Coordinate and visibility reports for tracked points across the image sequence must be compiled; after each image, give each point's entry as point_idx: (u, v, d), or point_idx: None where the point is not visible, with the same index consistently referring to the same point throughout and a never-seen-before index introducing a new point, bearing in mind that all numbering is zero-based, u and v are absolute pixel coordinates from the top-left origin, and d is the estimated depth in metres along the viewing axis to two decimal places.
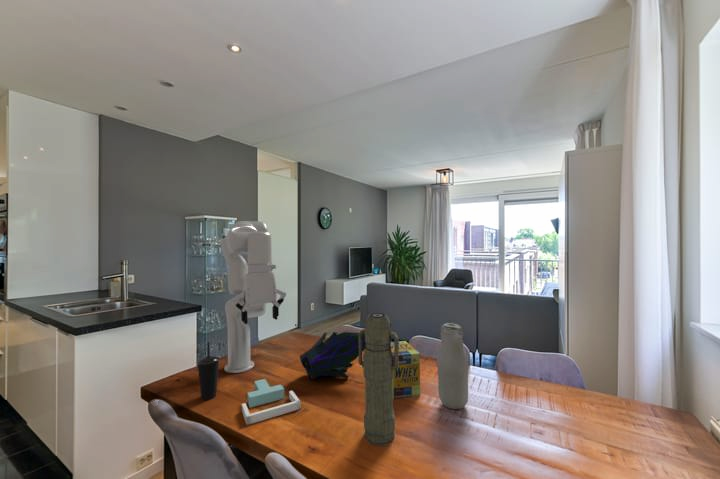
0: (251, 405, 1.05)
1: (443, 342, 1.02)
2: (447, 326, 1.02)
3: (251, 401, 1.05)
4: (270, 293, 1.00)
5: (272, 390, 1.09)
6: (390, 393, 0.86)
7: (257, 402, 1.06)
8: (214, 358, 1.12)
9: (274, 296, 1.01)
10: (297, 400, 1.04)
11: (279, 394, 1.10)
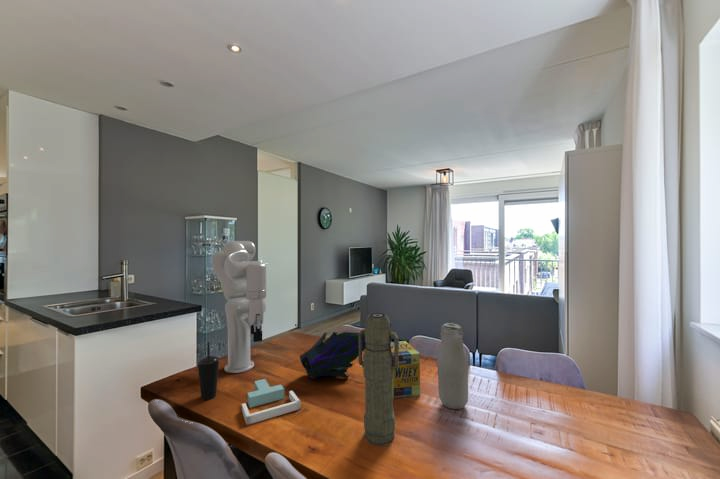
0: (251, 405, 1.05)
1: (443, 342, 1.02)
2: (447, 326, 1.02)
3: (251, 401, 1.05)
4: None
5: (272, 390, 1.09)
6: (390, 393, 0.86)
7: (257, 402, 1.06)
8: (214, 358, 1.12)
9: None
10: (297, 400, 1.04)
11: (279, 394, 1.10)
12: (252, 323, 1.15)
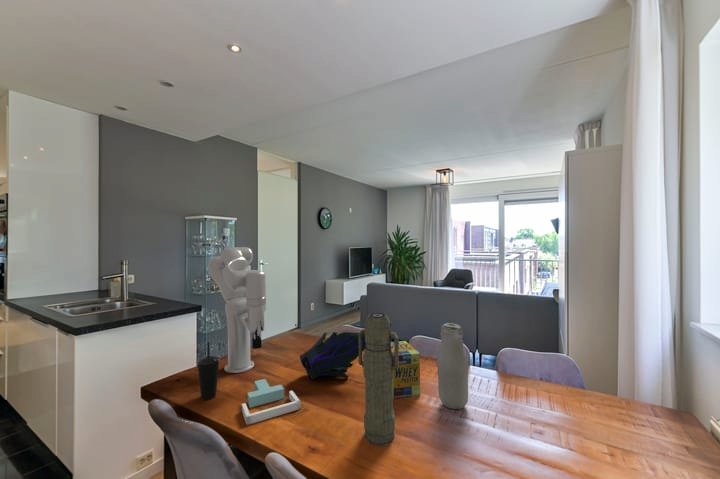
0: (251, 405, 1.05)
1: (443, 342, 1.02)
2: (447, 326, 1.02)
3: (251, 401, 1.05)
4: None
5: (272, 390, 1.09)
6: (390, 393, 0.86)
7: (257, 402, 1.06)
8: (214, 358, 1.12)
9: None
10: (297, 400, 1.04)
11: (279, 394, 1.10)
12: (254, 330, 1.17)
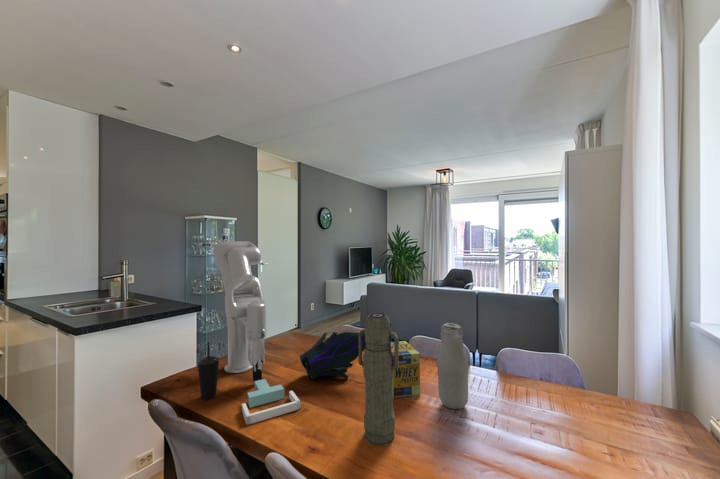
0: (251, 405, 1.05)
1: (443, 342, 1.02)
2: (447, 326, 1.02)
3: (251, 401, 1.05)
4: None
5: (272, 390, 1.09)
6: (390, 393, 0.86)
7: (257, 402, 1.06)
8: (214, 358, 1.12)
9: None
10: (297, 400, 1.04)
11: (279, 394, 1.10)
12: (254, 364, 1.17)
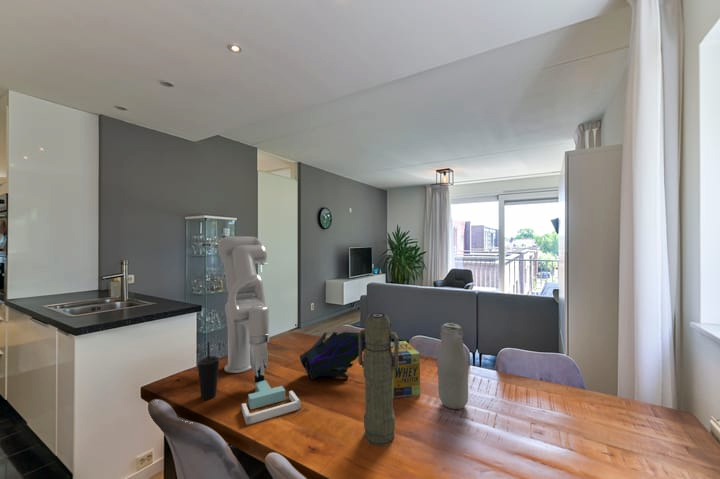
0: (252, 407, 1.03)
1: (443, 342, 1.02)
2: (447, 326, 1.02)
3: (252, 403, 1.03)
4: None
5: (273, 391, 1.08)
6: (390, 393, 0.86)
7: (258, 404, 1.04)
8: (214, 358, 1.12)
9: None
10: (297, 400, 1.04)
11: (280, 395, 1.08)
12: (256, 369, 1.13)
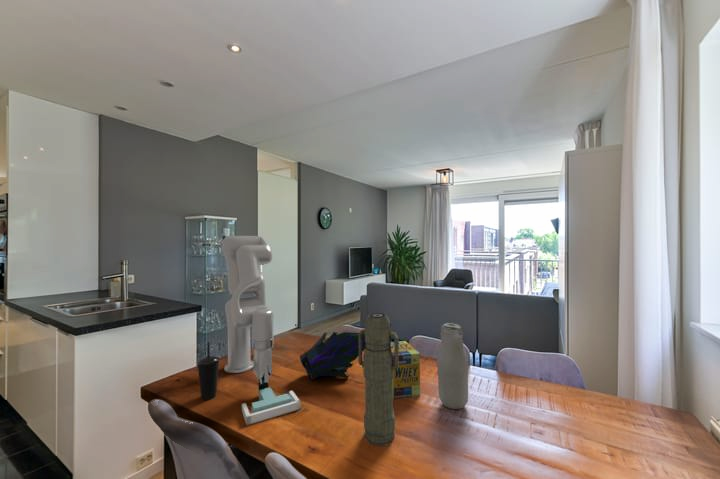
0: None
1: (443, 342, 1.02)
2: (447, 326, 1.02)
3: None
4: None
5: (278, 400, 1.02)
6: (390, 393, 0.86)
7: None
8: (214, 358, 1.12)
9: None
10: (297, 400, 1.04)
11: None
12: (260, 376, 1.07)
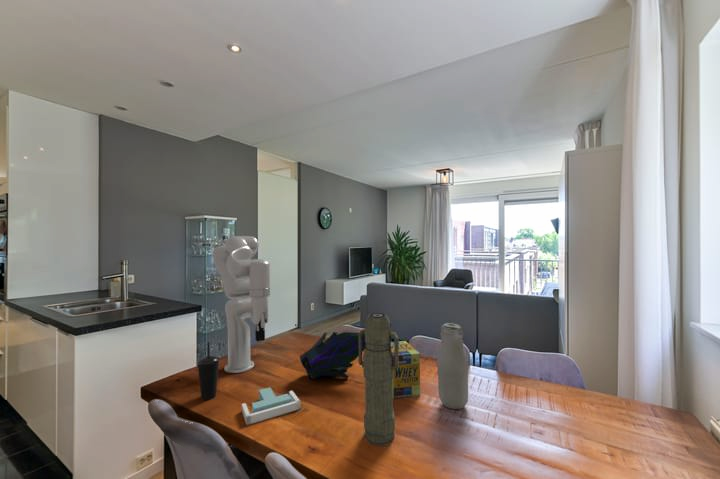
0: None
1: (443, 342, 1.02)
2: (447, 326, 1.02)
3: None
4: None
5: (278, 400, 1.02)
6: (390, 393, 0.86)
7: None
8: (214, 358, 1.12)
9: None
10: (297, 400, 1.04)
11: None
12: (257, 322, 1.12)
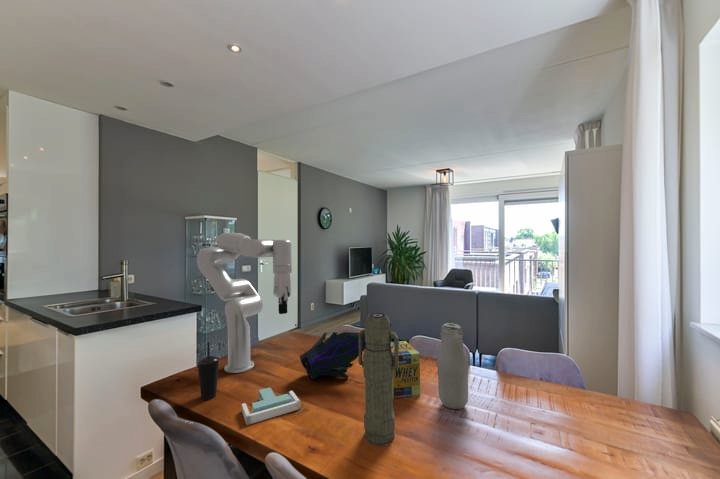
0: None
1: (443, 342, 1.02)
2: (447, 326, 1.02)
3: None
4: None
5: (278, 400, 1.02)
6: (390, 393, 0.86)
7: None
8: (214, 358, 1.12)
9: None
10: (297, 400, 1.04)
11: None
12: (281, 295, 1.22)
